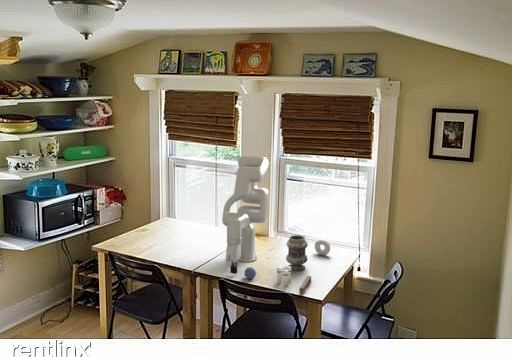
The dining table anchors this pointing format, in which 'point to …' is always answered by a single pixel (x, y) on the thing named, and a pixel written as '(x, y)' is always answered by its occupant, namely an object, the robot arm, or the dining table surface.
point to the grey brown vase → (296, 252)
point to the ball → (250, 273)
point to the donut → (326, 245)
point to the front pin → (279, 275)
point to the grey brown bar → (305, 284)
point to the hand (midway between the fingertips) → (233, 272)
